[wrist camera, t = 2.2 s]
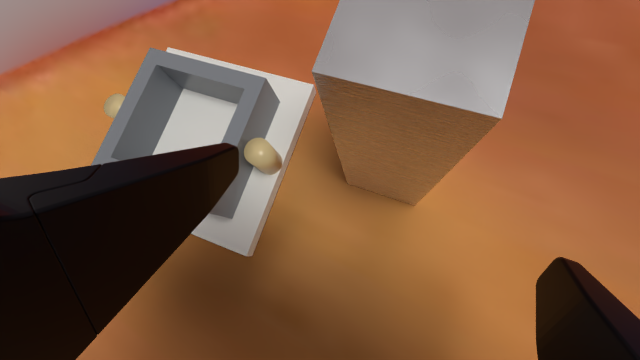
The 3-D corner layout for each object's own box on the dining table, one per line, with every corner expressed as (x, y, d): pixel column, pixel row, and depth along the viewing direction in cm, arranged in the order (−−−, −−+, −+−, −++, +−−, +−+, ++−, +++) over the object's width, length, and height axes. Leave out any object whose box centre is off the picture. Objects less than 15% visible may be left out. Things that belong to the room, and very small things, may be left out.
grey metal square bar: (415, 205, 19) (502, 118, 7) (347, 183, 20) (311, 71, 8) (434, 141, 20) (548, -49, 7) (369, 122, 21) (368, -73, 8)
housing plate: (252, 256, 20) (224, 257, 16) (107, 197, 23) (53, 185, 19) (316, 92, 22) (304, 58, 18) (176, 55, 24) (139, 18, 21)
